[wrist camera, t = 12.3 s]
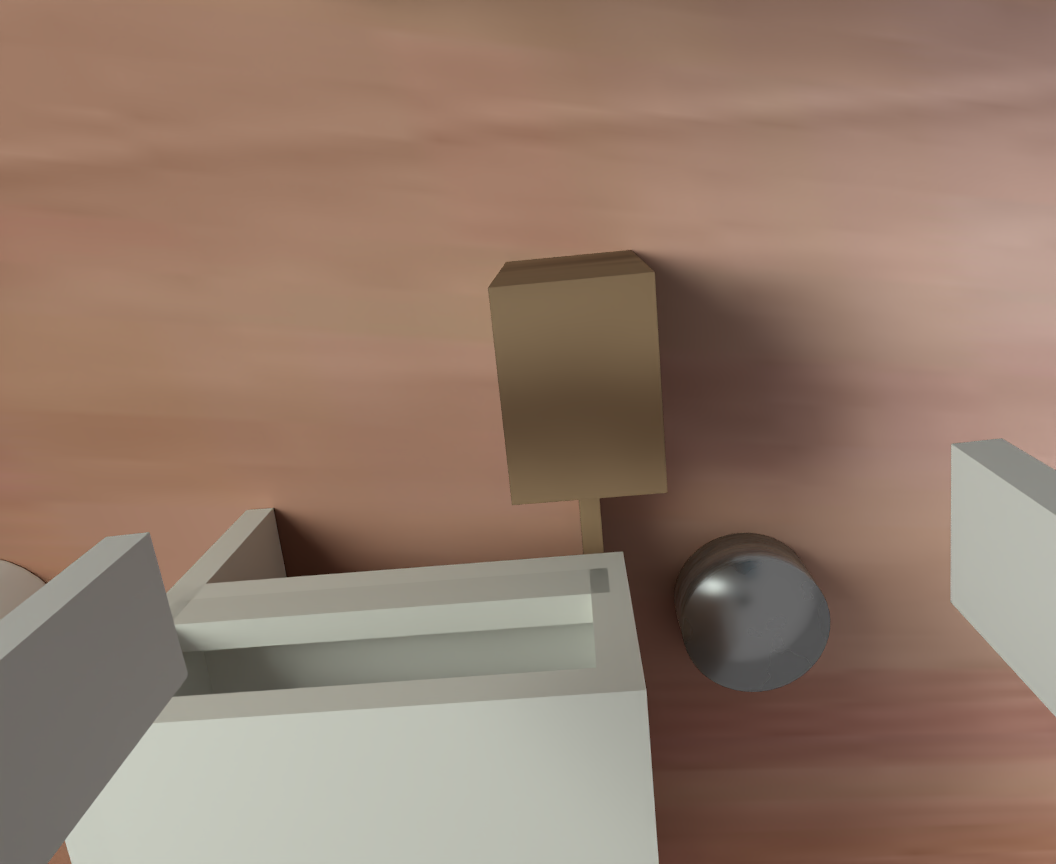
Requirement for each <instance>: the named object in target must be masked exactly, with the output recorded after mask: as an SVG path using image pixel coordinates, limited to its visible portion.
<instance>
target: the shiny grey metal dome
mask: <svg viewBox="0 0 1056 864" xmlns="http://www.w3.org/2000/svg"><path fill="white" fill-rule="evenodd" d="M674 605H675V611H676V614H677V618H678V622H679V625H680V629H681V633H682V636H683V640H684V644H685V647H686V650H687V652H688V654H689V656H690V658H691V660H692V661H693V663H694V664H695V666H696V667H697V668H698V669H699V670H700V671H701V672H702V673H703V674H704V675H705V676H706V677H708V678H709V679H711V680H712V681H714V682H715V683H717V684H720V685H722V686H724V687H727V688H730V689H734V690H739V691H747V692H759V691H767V690H772V689H775V688H779V687H782V686H784V685H787V684H789V683H791V682H793V681H794V680H796V679H798V678H799V677H801V676H802V675H803V674H805V673H806V672H807V671H808V670H809V669H810V668H811V667H812V666H813V665H814V664H815V663H816V661H817V660H818V659H819V657H820V656H821V654H822V652H823V650H824V648H825V646H826V643H827V640H828V637H829V631H830V614H829V609H828V605H827V602H826V600H825V598H824V596H823V594H822V592H821V591H820V589H819V588H818V586H817V585H816V583H815V581H814V580H813V578H812V577H811V575H810V574H809V572H808V571H807V569H806V567H805V566H804V564H803V563H802V561H801V560H800V558H799V557H798V556H797V555H796V554H795V552H793V551H792V550H791V549H790V548H789V547H788V546H786V545H785V544H783V543H782V542H780V541H778V540H776V539H774V538H771V537H768V536H765V535H760V534H754V533H737V534H731V535H726V536H723V537H720V538H717V539H715V540H713V541H711V542H709V543H707V544H705V545H704V546H702V547H701V548H700V549H698V550H697V551H696V552H695V553H694V554H693V555H692V556H691V557H690V558H689V559H688V560H687V562H686V563H685V564H684V566H683V568H682V569H681V571H680V573H679V576H678V578H677V581H676V585H675V591H674Z"/></svg>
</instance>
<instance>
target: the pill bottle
mask: <svg viewBox="0 0 1056 864" xmlns="http://www.w3.org/2000/svg"><path fill="white" fill-rule="evenodd" d="M44 585H46V584H45V583H44V582H43V581H42V580H41V579H40V578H39V577H37V576H35V575H34V574H32V573H31V572H29V571H28V570H26V569H24V568H22V567H20V566H17V565H15V564H13V563H10V562H8V561H4V560H0V620H1V619H2V618H4V617H5V616H6V615H7V614H9V613H10V612H11V611H12V610H14V609H15V608H16V607H18V606H19V605H20V604H21V603H23V602H24V601H25V600H26V599H28V598H29V597H30V596H32V595H33V594H34V593H35V592H37V591H38V590H39V589H40V588H42V587H43V586H44Z"/></svg>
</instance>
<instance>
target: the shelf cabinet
mask: <svg viewBox="0 0 1056 864" xmlns="http://www.w3.org/2000/svg"><path fill="white" fill-rule="evenodd" d="M166 595H167V599H168V603H169V606H170V610H171V614H172V617H173V621H174V625H175V628H176V632H177V636H178V639H179V643H180V647H181V650H182V654H183V658H184V661H185V665H186V669H187V672H188V677H187V678H186V680H185V681H184V682H183V684H182V685H181V686H180V688H179V689H178V690H177V692H176V693H175V694H174V696H173V697H172V698H171V700H170V701H169V702H168V704H167V705H166V706H165V708H164V709H163V710H162V712H161V713H160V714H159V716H158V717H157V718H156V720H155V721H154V722H153V724H152V725H151V726H150V728H149V729H148V730H147V732H146V733H145V734H144V736H143V737H142V738H141V740H140V741H139V742H138V744H137V745H136V746H135V748H134V749H133V750H132V752H131V753H130V754H129V756H128V757H127V758H126V760H125V761H124V762H123V764H122V765H121V766H120V768H119V769H118V770H117V772H116V773H115V774H114V776H113V777H112V778H111V780H110V781H109V782H108V784H107V785H106V786H105V788H104V789H103V790H102V792H101V793H100V794H99V796H98V797H97V798H96V800H95V801H94V802H93V803H92V805H91V806H90V807H89V809H88V810H87V811H86V813H85V814H84V815H83V817H82V818H81V819H80V821H79V822H78V823H77V825H76V826H75V827H74V829H73V830H72V831H71V833H70V834H69V835H68V837H67V838H66V839H65V842H66V846H67V849H68V852H69V856H70V859H71V863H72V864H659V860H658V846H657V832H656V818H655V804H654V790H653V776H652V762H651V748H650V734H649V720H648V706H647V692H646V685H645V679H644V673H643V667H642V661H641V655H640V650H639V644H638V638H637V632H636V626H635V620H634V614H633V608H632V602H631V596H630V590H629V585H628V579H627V573H626V567H625V561H624V555H623V552H610V553H597V554H584V555H572V556H559V557H546V558H533V559H520V560H507V561H494V562H481V563H468V564H455V565H442V566H429V567H416V568H403V569H390V570H377V571H364V572H351V573H338V574H325V575H313V576H300V577H286V571H285V566H284V561H283V556H282V551H281V545H280V540H279V535H278V530H277V524H276V519H275V514H274V509H273V508H266V509H254V510H246V511H245V512H244V513H243V514H242V515H241V516H240V518H239V519H238V520H237V521H236V522H235V523H234V524H233V525H232V526H231V527H230V528H229V529H228V530H227V531H226V532H225V533H224V534H223V535H222V536H221V537H220V538H219V539H218V540H217V541H216V542H215V543H214V544H213V545H212V546H211V548H210V549H209V550H208V551H207V552H206V553H205V554H204V555H203V556H202V557H201V558H200V559H199V560H198V561H197V562H196V563H195V564H194V565H193V566H192V567H191V568H190V569H189V570H188V571H187V572H186V573H185V574H184V575H183V576H182V578H181V579H180V580H179V581H178V582H177V583H176V584H175V585H174V586H173V587H172V588H171V589H170V590H169V591H168V592H167V593H166Z"/></svg>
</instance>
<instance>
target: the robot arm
mask: <svg viewBox="0 0 1056 864" xmlns="http://www.w3.org/2000/svg"><path fill="white" fill-rule="evenodd" d="M951 603H952V604H953V605H954V606H955V607H956V608H957V609H958V610H959V612H960V613H961V614H962V615H963V616H964V617H965V618H966V619H967V620H968V621H969V623H970V624H971V625H972V626H973V627H974V628H975V629H976V630H977V631H978V632H979V633H980V635H981V636H982V637H983V638H984V639H985V640H986V641H987V642H988V643H989V644H990V645H991V647H992V648H993V649H994V650H995V651H996V652H997V653H998V654H999V655H1000V656H1001V658H1002V659H1003V660H1004V661H1005V662H1006V663H1007V664H1008V665H1009V666H1010V667H1011V668H1012V670H1013V671H1014V672H1015V673H1016V674H1017V675H1018V676H1019V677H1020V678H1021V679H1022V680H1023V682H1024V683H1025V684H1026V685H1027V686H1028V687H1029V688H1030V689H1031V690H1032V691H1033V693H1034V694H1035V695H1036V696H1037V697H1038V698H1039V699H1040V700H1041V701H1042V702H1043V703H1044V705H1045V706H1046V707H1047V708H1048V709H1049V710H1050V711H1051V712H1052V713H1053V714H1054V715H1055V717H1056V470H1054V469H1052V468H1051V467H1049V466H1047V465H1046V464H1044V463H1042V462H1041V461H1039V460H1037V459H1036V458H1034V457H1032V456H1031V455H1029V454H1027V453H1026V452H1024V451H1022V450H1020V449H1019V448H1017V447H1015V446H1014V445H1012V444H1010V443H1009V442H1007V441H1005V440H1004V439H1002V438H1001V439H992V440H983V441H974V442H964V443H955V444H951ZM187 677H188V672H187V669H186V665H185V661H184V658H183V654H182V650H181V647H180V643H179V639H178V636H177V632H176V628H175V625H174V621H173V617H172V614H171V610H170V606H169V603H168V599H167V595H166V592H165V588H164V584H163V581H162V577H161V573H160V569H159V566H158V562H157V558H156V555H155V551H154V547H153V544H152V540H151V536H150V533H149V532H147V533H138V534H129V535H120V536H111V537H105V538H104V539H103V540H101V541H100V542H99V543H98V544H96V545H95V546H94V547H93V548H91V549H90V550H89V551H87V552H86V553H85V554H84V555H82V556H81V557H80V558H79V559H77V560H76V561H75V562H74V563H72V564H71V565H70V566H68V567H67V568H66V569H65V570H63V571H62V572H61V573H60V574H58V575H57V576H56V577H54V578H53V579H52V580H51V581H49V582H48V583H47V584H46V585H44V586H43V587H42V588H40V589H39V590H38V591H37V592H35V593H34V594H33V595H32V596H30V597H29V598H28V599H26V600H25V601H24V602H23V603H21V604H20V605H19V606H18V607H16V608H15V609H14V610H12V611H11V612H10V613H9V614H7V615H6V616H5V617H4V618H2V619H1V620H0V864H47V863H48V862H49V861H50V859H51V858H52V857H53V855H54V854H55V853H56V851H57V850H58V849H59V847H60V846H61V845H62V843H63V842H64V841H65V839H66V838H67V837H68V835H69V834H70V833H71V831H72V830H73V829H74V827H75V826H76V825H77V823H78V822H79V821H80V819H81V818H82V817H83V815H84V814H85V813H86V811H87V810H88V809H89V807H90V806H91V805H92V803H93V802H94V801H95V800H96V798H97V797H98V796H99V794H100V793H101V792H102V790H103V789H104V788H105V786H106V785H107V784H108V782H109V781H110V780H111V778H112V777H113V776H114V774H115V773H116V772H117V770H118V769H119V768H120V766H121V765H122V764H123V762H124V761H125V760H126V758H127V757H128V756H129V754H130V753H131V752H132V750H133V749H134V748H135V746H136V745H137V744H138V742H139V741H140V740H141V738H142V737H143V736H144V734H145V733H146V732H147V730H148V729H149V728H150V726H151V725H152V724H153V722H154V721H155V720H156V718H157V717H158V716H159V714H160V713H161V712H162V710H163V709H164V708H165V706H166V705H167V704H168V702H169V701H170V700H171V698H172V697H173V696H174V694H175V693H176V692H177V690H178V689H179V688H180V686H181V685H182V684H183V682H184V681H185V680H186V678H187Z"/></svg>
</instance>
